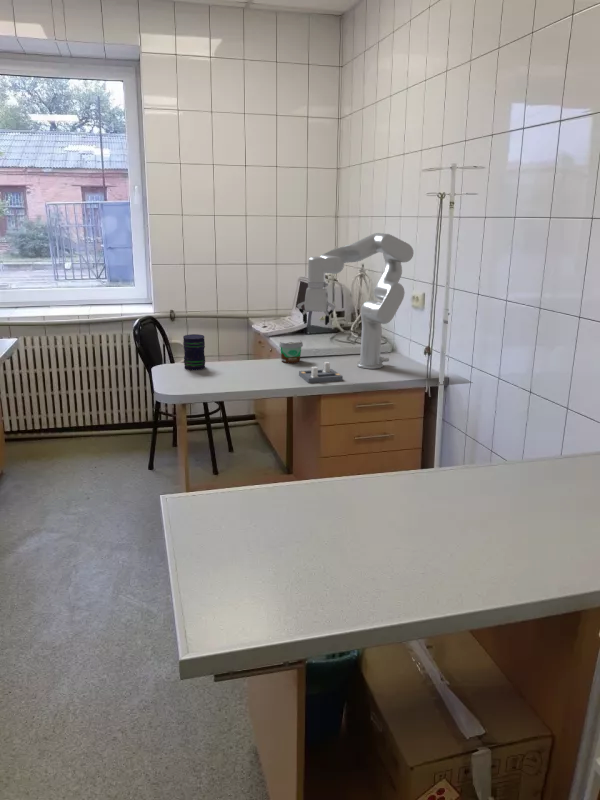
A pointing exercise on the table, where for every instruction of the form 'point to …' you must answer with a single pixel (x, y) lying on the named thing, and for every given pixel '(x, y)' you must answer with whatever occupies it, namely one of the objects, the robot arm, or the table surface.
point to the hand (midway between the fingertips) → (315, 323)
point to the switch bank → (321, 376)
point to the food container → (291, 352)
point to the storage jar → (194, 352)
